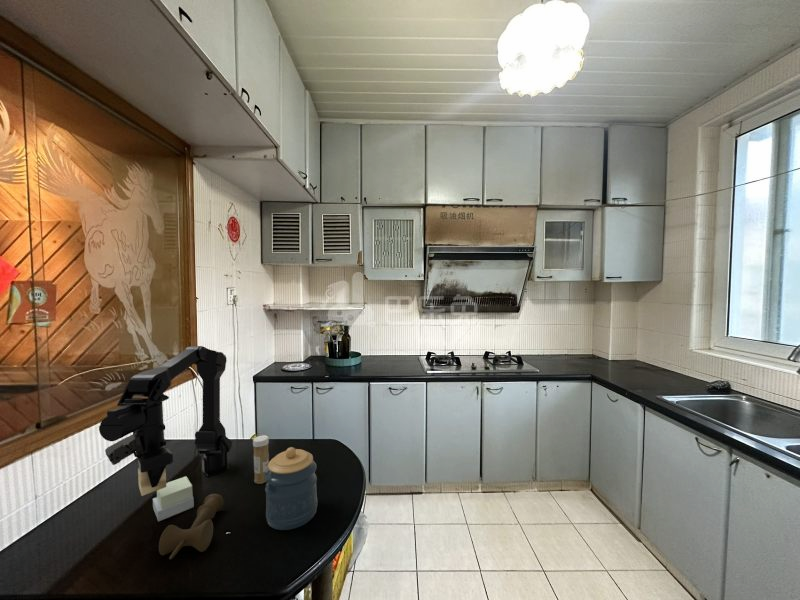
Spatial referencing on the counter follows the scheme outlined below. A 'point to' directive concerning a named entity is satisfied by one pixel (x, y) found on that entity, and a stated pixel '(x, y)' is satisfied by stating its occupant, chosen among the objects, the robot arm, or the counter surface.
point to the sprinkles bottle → (260, 458)
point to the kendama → (192, 529)
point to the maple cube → (145, 483)
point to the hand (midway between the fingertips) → (152, 482)
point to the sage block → (174, 492)
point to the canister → (290, 489)
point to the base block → (171, 508)
